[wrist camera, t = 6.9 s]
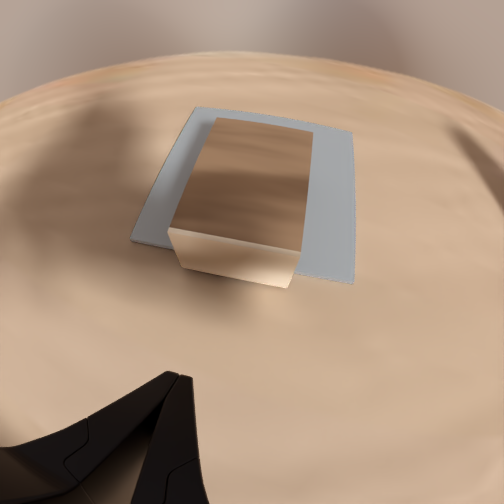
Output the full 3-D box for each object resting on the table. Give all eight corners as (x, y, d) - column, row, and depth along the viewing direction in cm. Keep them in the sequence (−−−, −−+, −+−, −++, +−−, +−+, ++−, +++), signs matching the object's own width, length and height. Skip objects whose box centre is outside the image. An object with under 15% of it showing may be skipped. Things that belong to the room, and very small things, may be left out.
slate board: (352, 284, 19) (354, 281, 19) (131, 241, 20) (129, 238, 20) (351, 135, 27) (352, 132, 26) (196, 109, 28) (196, 106, 27)
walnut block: (300, 257, 15) (313, 132, 19) (167, 232, 15) (216, 117, 20) (287, 288, 19) (302, 173, 23) (181, 267, 19) (219, 159, 24)
